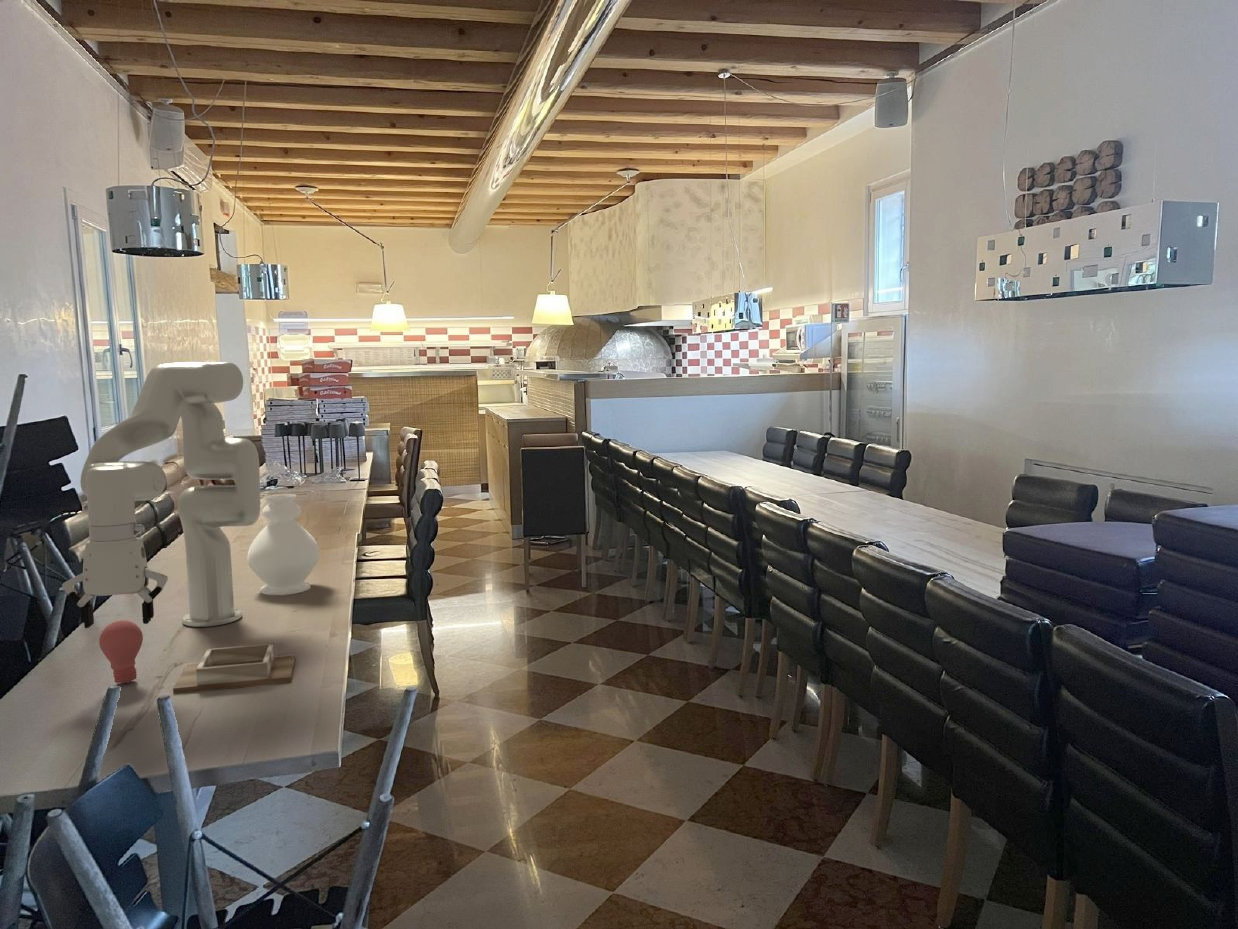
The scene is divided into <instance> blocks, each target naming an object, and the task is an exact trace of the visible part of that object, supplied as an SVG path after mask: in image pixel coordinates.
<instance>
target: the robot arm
mask: <svg viewBox="0 0 1238 929" xmlns="http://www.w3.org/2000/svg"><path fill="white" fill-rule="evenodd" d="M243 387H244V376H243V373H242V371H241V369H240V368H239V367H238V366H237V365H236V364H235V363H233V362H230V361H205V362H204V361H203V362H202V361H182V362H181V361H180V362H171V363H163V364H162V363H161V364H158V365H156V366H154V367H153V368H151V370H150V371H149V372H148V374H147V376H146V377H145V381H144V383H143V386H142V388H141V391H140V393H139V395H138V397H137V400H136V401H135V405H134V407H133V410H132V412H131V415H130V416H129V417H127V418H125V419H124V420H122V421H120V422H118V424H116V425H115V426H113V427H112V428H111V429H109V430H108V431H107V432H105V433H104V434H102V435H101V436H100V437H99V438H98V439H97V440H96V441H95V442H94V443H93V445H92V447H91V449H90V451H89V453H88V455H87V457H86V459H85V462H84V464H83V466H82V470H81V473H80V474H81V475H80V480H79V481H80V482H79V483H80V488H81V491H82V493H83V494H84V496H86V499H87V500H86V502H87V518H88V535H89V540H88V541H86V542H85V546H84V551H83V563H82V572H81V573H80V574H77V575H75V576H74V577H72V578H70V579H69V580H66V581H64V582H63V583H62V584H61V587H62V589H63V590H64V591H65V593H66V594H67V596H68V598H69V599H70V600H71V601H73V602H74V603H76V605H77V607H79V608H80V620H81V621H80V622H81V624H84V629H89V628H90V627H92V626H93V625H94V623H95V621H94V620H95V619H94V618H95V617H94V604H93V603H92V602H91V600H92V599H93V597H102V596H103V597H104V596H117V595H121V596H122V595H132V594H137V595H138V596H139V597H140V598H141V599H143V602H142V603H141V612H142V613H141V614H142V624H144V625H148V624H149V622H151V621H152V619H153V618H154V615H155V612H154V610H155V609H154V600H155V598H156V597H157V596H158V595H159V594H160V593H161V592H163V590H164V587H165V586H166V584H167V582H168V581H169V577H168V575H165V574H162V573H160V572H157V571H155V570H153V569H151V568H148V567H149V566H148V561H147V554H146V549H145V546H144V541H143V538H142V537H138V535H139V534H142V533H143V534H144V533H145V531H146V528H145V525H140V524H138V522H137V520H136V519H137V518H136V504H135V502H136V501H139V502H140V501H151V500H153V499H155V498H158V497H159V496H160V495H161V494H162V493H163V492H164V490H165V488H166V484H167V476H166V473H165V471H164V469H163V468H162V467H161V466H160V465H159V464H157V463H155V462H151V461H143V460H141V461H130V460H128V461H125V460H124V461H121V460H122V459H123V458H124V457H126V456H128V455H130V454H131V453H134V452H136V451H138V450H143V449H144V448H148V447H150V446H153V445H156V444H159V443H161V442H163V441H165V440H168V439H169V438H171V437H173V435H174V434H175V432H176V430H177V428H178V424H179V421H180V419H181V425H182V427H181V428H182V449H183V450H182V451H183V465H184V466H183V467H184V471H185V472H186V475H187V476H188V477H189V478H191V479H195V480H233V482H234V484H231V485H227V484H226V485H222V484H217V485H216V484H212V485H210V484H209V485H208V484H207V485H195V486H191V487H188V488H186V489H184V490H183V491H182V492H181V493H180V495H179V496H178V500H177V511H178V515H179V520H180V523H181V527H182V532H183V537H184V538H183V539H184V548H185V550H184V552H185V564H186V580H187V581H186V582H187V583H186V584H187V596H188V609H189V610H188V613H187V614H184V615H183V616H182V618H181V620H182V621H181V622H182V624H183V625H185V626H188V627H196V628H199V627H200V628H201V627H202V628H204V627H205V628H206V627H216V626H220V625H221V626H222V625H226V624H230V623H233V622H236V621H237V620H239V619H241V618H242V610H241V609H239V608H235V602H234V587H233V582H234V581H233V568H232V548H231V544H230V540H229V538H228V537H227V535H226V534H225V532H224V531H223V530H222V527H249V526H253V525H254V524H255V523H257V521H258V520H259V517H260V514H261V483H260V482H261V479H260V478H261V476H260V474H261V473H260V472H261V471H260V458H259V457H260V456H259V451H258V450H257V446H256V445H255V444H254V443H253V441H252V440H250V439H249V438H239V437H231V438H230V437H225V434H224V418H223V414H222V413H221V411H220V409H219V408H218V406H217V405H216V404H220V403H225V402H230V401H234V400H235V399H237V398H238V397H239V396H240V395H241V393H242V391H243ZM150 579H151V580H153V581H156V585H155V588H154V589H152V590H151V589H150V588H149V587H148V586H149V584H150V583H149V582H150ZM81 582H82V589H83V593H84V595H83V594H82V593H80V591H77V590H76V587H75V585H77V584H79V583H81Z"/></svg>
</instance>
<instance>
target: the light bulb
mask: <svg viewBox="0 0 1238 929" xmlns="http://www.w3.org/2000/svg"><path fill="white" fill-rule="evenodd" d="M98 640H99V641H98V644H99V648H100V650H101V652H102V653H103V655H104V656H105V657H106V659H107V660H108V662H109V663H110V668H111V669H112V670H113V673H112V674H113V675H112V676H113V678H114V683H116V684H128V683H130V682H132V681H135V680H136V679H137V678H138V677H137V675H138V674H137V673H138V672H137V668H136V667H135V666H136V658H137V655H138V654H139V653H140V650H141V647H142V646H143V640H144V635H143V631H142V630H141V627H140V626H138V625H137V624H136V623H134V622H132V621H130V620H125V619H124V620H122V619H121V620H116V621H113V622H111V623H109V624H107V626H105V627H104V628H103V630H102V631H101V633H100V635H99V639H98Z"/></svg>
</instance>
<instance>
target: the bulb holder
mask: <svg viewBox="0 0 1238 929" xmlns="http://www.w3.org/2000/svg"><path fill="white" fill-rule="evenodd" d="M274 646H275V645H274V643H261V644H260V643H259V644H252V645H251V644H250V645H238V646H226V647H217V648H216V647H215V648H207V649H206V651H205V653H204V655H203V656H202V659H200V663H193V664H187V665H186V666H185V668H184V669H183V671H182V672H181V674H180V675H179V678H177V681H176V682H175V684H174V686H173V687H172V694H173V695H174V694H183V693H184V694H185V693H192V692H193V693H195V692H207V691H214V690H215V691H217V690H226V689H235V688H245V687H256V686H266V685H268V686H269V685H278V684H287V683H291V680H292V676H293V672H294V668H295V664H296V661H297V660H296V659H297V658H296V655H295V654H294V655H284V656H275V652H274V651H275V647H274Z"/></svg>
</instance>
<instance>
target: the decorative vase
mask: <svg viewBox="0 0 1238 929" xmlns="http://www.w3.org/2000/svg"><path fill="white" fill-rule="evenodd" d="M295 499H297V494H294V493H277V494H270V495H266V496H265V500H266V501H268V502H269V503H268V504H266V505H264V507H263V509H262V516H263V517H264V518H265V519H267V521H268V523H267V524H266V525H265V526H264V527H263V528H262V529H261V530H260V531H259V532H258V534H257V535H256V536H255V538H254V539H253V541H252V543H251V544H250V546H249V549H248V552H247V564H248V566H249V568H250V569H251V570H252V572H254V574H255V575H256V576H257V577H258V578H259V579H260V580H261V581H262V582H263V583H264V584H265V585H263V586H261V587H260V589H259V590H260V591H259V592H260V593H261V594H263V595H267V596H286V595H288V596H289V595H295V594H300V593H303V592H306V591H308V590H310V589H311V588H312V587H311V583H310V582H306V580H307V578H308V576H310V574H311V573H312V571H313V570H314V569H315V567H316V566H317V564H318V562H319V560H320V553H321V552H320V548H319V545H318V543H317V541H316V539H315V538H314V537H313V535H312V534H310V532H309V531H308V530H307V529H305V527H303V526H302V524H300V523H299V522H297V521H296V519H297V518H299V516H300V515H301V512H302V509H301V506H300V505H298V503H297V502H294V500H295Z"/></svg>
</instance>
